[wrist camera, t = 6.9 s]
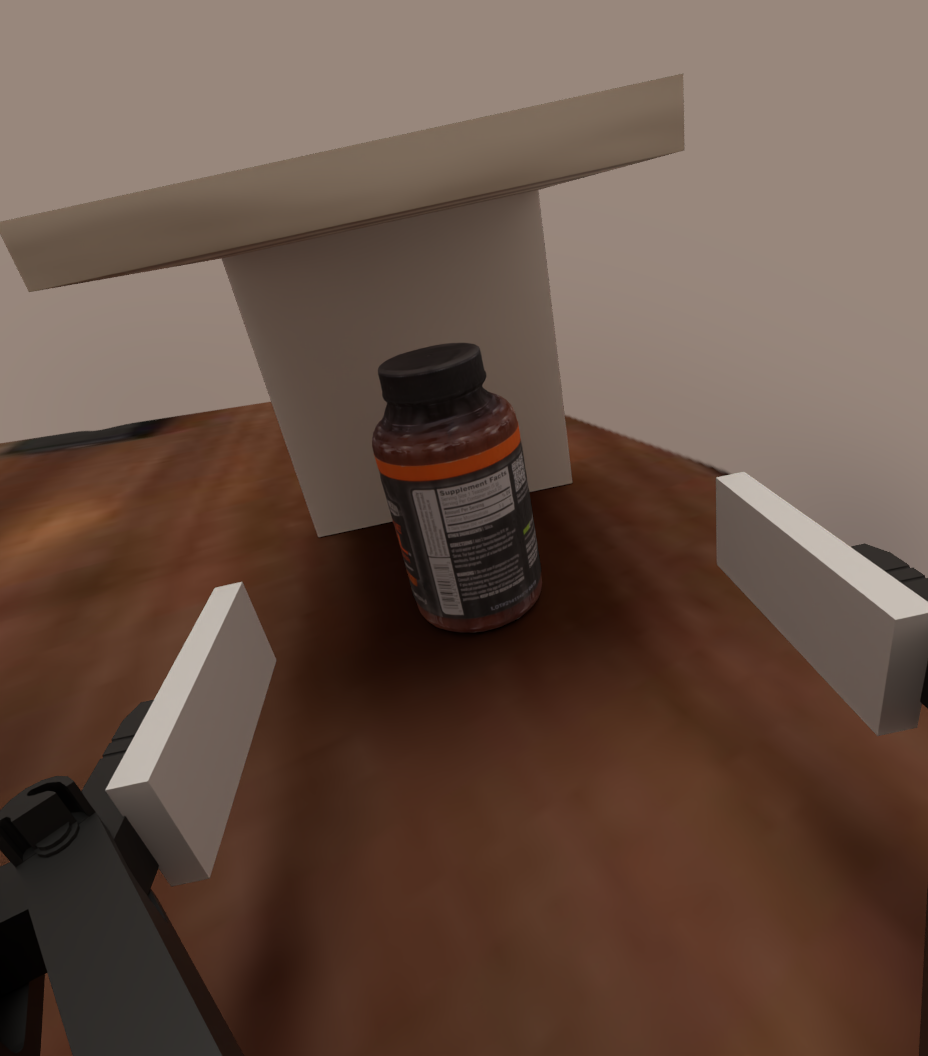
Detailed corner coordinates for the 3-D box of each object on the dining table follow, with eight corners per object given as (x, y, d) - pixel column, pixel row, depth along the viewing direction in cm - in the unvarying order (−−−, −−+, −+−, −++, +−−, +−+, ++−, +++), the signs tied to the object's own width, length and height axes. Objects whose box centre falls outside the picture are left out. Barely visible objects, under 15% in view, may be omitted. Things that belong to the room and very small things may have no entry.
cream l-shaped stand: (693, 665, 22) (682, 73, 14) (259, 757, 22) (-6, 223, 14) (566, 473, 38) (528, 158, 30) (321, 525, 38) (219, 224, 30)
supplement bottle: (415, 579, 30) (354, 356, 25) (529, 553, 31) (492, 326, 25) (421, 653, 25) (346, 390, 20) (559, 621, 25) (520, 352, 20)
